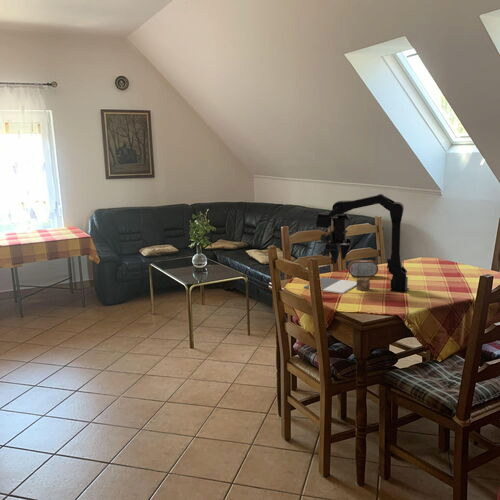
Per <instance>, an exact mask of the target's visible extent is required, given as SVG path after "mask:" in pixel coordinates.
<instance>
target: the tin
mask: <svg viewBox="0 0 500 500" xmlns="http://www.w3.org/2000/svg"><path fill="white" fill-rule="evenodd" d="M347 272H348V274H349V275H351V276H352V277H355V278H360V277H362V278H371V277H374V276H376V275H377V274H378V272H379V266H378V264H377V262H376V261H375V260H372V259H354V260H352V261H350V262H349V263H348V265H347Z"/></svg>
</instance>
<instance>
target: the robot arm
mask: <svg viewBox="0 0 500 500" xmlns="http://www.w3.org/2000/svg"><path fill="white" fill-rule="evenodd" d="M378 204H379V205H380V206H382V207H383V208H384V209H385V210H388V212H389V216H390V221H391V253H390V256H387V259H386V261H387V266H386V269H388V270H387V271H388V272H389V273H390V275H392V276H391V279H390V289H389V290H390V291H391V292H398V293H406V292H407V291H408V290H409V287H408V280H409V276H407V273H408V270H407V269H406V268H405V267H404V266H403V261H402V256H401V232H402V231H401V227H402V225H401V224H402V219H403V215H404V211H405V207H404V204H403V203H402V202H400V201H394V200H393V199H390V198H389V197H387V196H385V195H384V194H383V193H379V194H376V195H373V196H368V197H363V198H359V199H358V198H357V199H354V200H338V201H336V202H334V203H333V205H332V207H331V211H330V212H329V213H320V212H319V213H318V214H317V217H316V222H315V223H316V228H317V229H330V228H331V227H332V230H331V231H330V234H326V233H323V234H322V235H320V241H321V242H322V244H324V249H325V250H326V251H328V252H329V254H330V256H331V260H332V262H333V264H337V262H338V259H339V256H340V255H341V260H343V261H344V260H345V259H346V257H347V255H348V253H349V250H350V249H351V247H352V244H354V239H353V238H352V237H347V236H346V234H347V233H348V230H347V229H346V228H347V227H346V225H347V224H346V223H347V221H346V220H349V219H350V218H351V216H350V215H348V213H347V212H350V211H352V210H356V209H360V208H365V207H369V206H372V205H373V206H375V205H378ZM344 213H345V214H344ZM336 215H337V216H336Z"/></svg>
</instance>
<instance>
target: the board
mask: <svg viewBox="0 0 500 500" xmlns="http://www.w3.org/2000/svg"><path fill="white" fill-rule="evenodd" d="M319 279H320V281H321V289H322V291H321V292H328V293H335V294H341V295H343V294H346V293H347V292H348V291H350V290H351V289H353V288H355V287H357V281H354V280H348V279H347V280H346V279H338V278H331V277H321V278H319ZM303 289H306V290H310V289H309V284H307V285H305V286H303Z"/></svg>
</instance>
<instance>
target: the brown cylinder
mask: <svg viewBox="0 0 500 500" xmlns="http://www.w3.org/2000/svg"><path fill="white" fill-rule="evenodd" d="M370 278H371V277H357V278H356V282H357V286H356V291H361V292H367V291H369V290H371V289H370V285H371V282H370Z"/></svg>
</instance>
